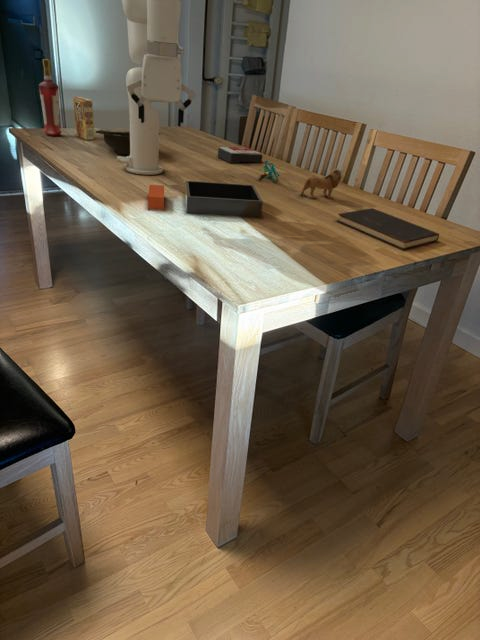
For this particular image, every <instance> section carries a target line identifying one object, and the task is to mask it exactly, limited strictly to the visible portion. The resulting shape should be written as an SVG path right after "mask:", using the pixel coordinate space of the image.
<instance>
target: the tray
mask: <svg viewBox="0 0 480 640" xmlns="http://www.w3.org/2000/svg"><path fill="white" fill-rule="evenodd" d="M184 182H185V184H184V203H185V213H186V214H191V215H207V216H208V215H209V216H223V217H241V218H242V217H243V218H260V219H261V218H262V210H263V204H264V201H263V199H262V197H261V196H260V194H259V192H258V190H257V188H256V187H255V185H254V184H245V183H244V184H241V183H229V182H213V181H201V180H200V181H199V180H185V181H184Z"/></svg>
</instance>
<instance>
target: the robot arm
mask: <svg viewBox="0 0 480 640" xmlns="http://www.w3.org/2000/svg"><path fill="white" fill-rule="evenodd" d="M120 1H121V4H122V9H123V13H124V16H125V18H126V25H127V26H126V27H127V41H128V42H127V43H128V52H129V57H130V60H131V61H132V62H133V63H134V64H135V65H139V66H137V67H133V68H130V69H129V70H128V71H127V73H126V76H125V84H126V92H127V96H128V97H127V98H128V108H129V109H128V111H129V113H128V114H129V131H130V155H126V156H121V155H119V156H118V155H117V156H116V162H117V163H119V164H125V170H126V171H127V172H129V173H131V174H137V175H144V176H151V175H152V176H153V175H159V174H162V173H164V167H162V166H161V165H159V159H160V158H159V157H160V156H159V155H160V153H159V152H160V151H159V150H160V135H159V133H160V118H159V114H158V112H157V110H156V109H155V107H154V106H153V105H152V103H167V104H168V103H169V104H175V103H176V105H177V106H178V110H177V126H178V127H181V126H182V125H181V124H184V118H185V117H184V115H185V110H186V109H187V108H188V107H189V106H190V105H191V104H192V102H193V100H194V99H195V96H196V92H195V91H194V90H193V89H190V88H189V87H187V86H186V85H185V84H183V78H182V76H183V72H182V61H181V54H182V55H184V53H185V52H184V51H185V49H184V47H181V46H180V44H179V27H180V26H179V25H180V20H181V17H182V16H181V15H182V4H181V0H120ZM140 66H141V67H140ZM183 92H184V93H185V94H187V95H188V97H187V99H185V100H184V102H183V101H182V99H181V98H182V94H183Z"/></svg>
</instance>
